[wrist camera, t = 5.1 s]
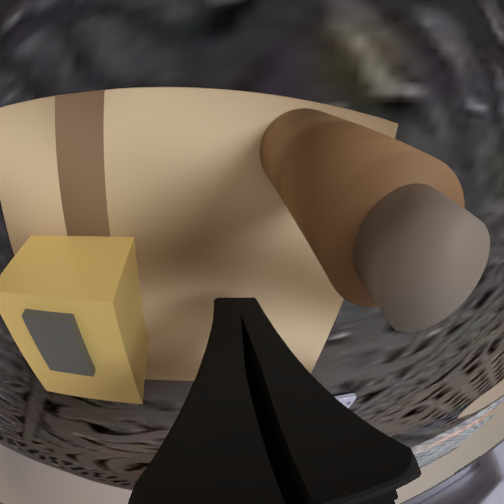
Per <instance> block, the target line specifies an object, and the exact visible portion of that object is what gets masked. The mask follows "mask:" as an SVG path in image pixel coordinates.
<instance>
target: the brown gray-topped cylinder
mask: <svg viewBox="0 0 504 504" xmlns="http://www.w3.org/2000/svg"><path fill="white" fill-rule="evenodd" d="M260 160H261V164H262V167H263V170H264V172H265V174H266V175H267V177H268V178H269V180H270V182H271V183H272V185H273V186H274V188H275V189H276V191H277V193H278V194H279V196H280V197H281V199H282V201H283V202H284V204H285V206H286V207H287V209H288V210H289V212H290V214H291V215H292V217H293V219H294V220H295V222H296V224H297V225H298V227H299V229H300V230H301V232H302V234H303V235H304V237H305V239H306V240H307V242H308V244H309V246H310V247H311V249H312V251H313V252H314V254H315V256H316V258H317V259H318V261H319V263H320V265H321V266H322V268H323V270H324V272H325V273H326V275H327V277H328V279H329V280H330V282H331V284H332V286H333V287H334V289H335V290H336V292H337V293H338V294H339V295H340V296H341V297H343V298H344V299H345V300H347V301H349V302H351V303H353V304H356V305H360V306H366V307H378V306H379V308H380V309H381V311H382V313H383V314H384V316H385V317H386V319H387V320H388V322H389V324H390V325H391V326H392V327H393V328H394V329H396V330H398V331H400V332H406V333H411V332H417V331H421V330H424V329H427V328H429V327H431V326H433V325H435V324H437V323H439V322H440V321H442V320H443V319H445V318H446V317H448V316H449V315H450V314H451V313H453V312H454V311H455V310H456V309H457V308H458V307H459V306H460V305H461V304H462V303H463V302H464V301H465V300H466V298H467V297H468V296H469V295H470V293H471V292H472V291H473V289H474V288H475V286H476V285H477V283H478V281H479V279H480V278H481V276H482V273H483V271H484V269H485V266H486V263H487V260H488V256H489V250H490V238H489V233H488V230H487V228H486V226H485V225H484V224H483V223H482V222H481V221H480V220H479V219H478V218H476V217H475V216H474V215H472V214H471V213H470V212H468V211H467V210H465V208H464V196H463V191H462V188H461V185H460V182H459V180H458V178H457V176H456V175H455V174H454V172H453V171H452V170H451V169H450V168H449V167H448V166H447V165H446V164H445V163H443V162H442V161H440V160H438V159H436V158H434V157H432V156H430V155H428V154H426V153H424V152H422V151H420V150H418V149H416V148H414V147H412V146H409V145H407V144H405V143H403V142H401V141H398V140H396V139H394V138H391V137H389V136H387V135H384V134H382V133H379V132H377V131H374V130H372V129H369V128H367V127H364V126H362V125H359V124H356V123H354V122H351V121H348V120H345V119H342V118H340V117H337V116H334V115H331V114H328V113H325V112H322V111H318V110H315V109H309V108H299V109H294V110H290V111H288V112H285V113H283V114H282V115H280V116H279V117H277V118H276V119H275V120H274V121H273V122H272V123H271V124H270V125H269V127H268V128H267V129H266V131H265V133H264V135H263V138H262V141H261V145H260Z"/></svg>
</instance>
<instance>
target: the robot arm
mask: <svg viewBox="0 0 504 504" xmlns="http://www.w3.org/2000/svg"><path fill="white" fill-rule="evenodd" d="M355 399H356V396H355V393H349V394H344V395H338V396H333V395H332V394H331V393H330V392H329V391H327V390H326V389H325V388H324V387H323V386H322V385H321V384H320V383H319V382H318V381H317V380H316V379H315V378H314V377H313V376H312V375H311V373H310V372H309V371H308V370H307V369H306V368H305V367H304V366H303V364H302V363H301V362H300V361H299V360H298V359H297V357H296V356H295V355H294V354H293V352H292V351H291V350H290V349H289V347H288V346H287V345H286V343H285V342H284V341H283V339H282V338H281V337H280V335H279V334H278V332H277V331H276V329H275V328H274V327H273V325H272V324H271V322H270V320H269V319H268V317H267V316H266V314H265V313H264V311H263V309H262V308H261V306H260V304H259V302H258V301H257V299H256V298H255V297H251V298H216V299H215V300H214V309H213V322H212V327H211V331H210V335H209V339H208V343H207V346H206V350H205V353H204V356H203V358H202V361H201V364H200V367H199V370H198V373H197V375H196V378H195V380H194V383H193V385H192V387H191V390H190V392H189V394H188V396H187V398H186V401H185V403H184V405H183V407H182V409H181V411H180V413H179V415H178V417H177V419H176V421H175V422H174V424H173V426H172V428H171V430H170V431H169V433H168V435H167V436H166V438H165V440H164V441H163V443H162V445H161V447H160V448H159V450H158V452H157V453H156V455H155V456H154V458H153V459H152V461H151V462H150V464H149V465H148V466H147V468H146V469H145V471H144V472H143V474H142V475H141V476H140V478H139V479H138V481H137V482H136V484H135V485H134V489H133V491H132V494H131V496H130V499H129V502H128V504H395V502H394V500H396V499H397V498H398V495H397V492H396V489H398V488H399V487H402V486H404V485H406V484H408V483H409V482H411V481H413V480H415V479H416V478H418V477H420V475H421V471H420V468H419V466H418V463H417V460H416V458H415V456H414V454H413V452H412V450H411V448H409V447H407V446H405V445H404V444H402V443H400V442H398V441H396V440H394V439H392V438H391V437H389V436H387V435H385V434H384V433H382V432H380V431H379V430H377V429H376V428H374V427H373V426H371V425H370V424H368V423H367V422H365V421H364V420H363V419H361V418H360V417H359V416H357V415H356V414H355V413H354V412H352V411H351V410H350V409H348V408H349V407H350V406H351V404H352V403H353V402H354V401H355ZM0 504H3V503H1V502H0ZM400 504H504V439H503V440H502V441H500V442H499V443H498V444H496V445H495V446H494V447H492V448H491V449H490V450H489V451H487V452H486V453H485V454H483V455H482V456H479V457H478V458H476V459H475V460H473V461H472V462H470V463H469V464H467V465H466V466H464V467H463V468H462V469H460V470H458V471H457V472H455V474H454V475H452V476H450V477H449V478H447V479H446V480H444V481H442V482H440V483H439V484H437V485H435V486H434V487H432V488H430V489H428V490H426V491H424V492H422V493H420V494H419V495H417V496H415V497H413V498H411V499H409V500H406V501H405V502H402V503H400Z"/></svg>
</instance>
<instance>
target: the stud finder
mask: <svg viewBox="0 0 504 504" xmlns="http://www.w3.org/2000/svg"><path fill="white" fill-rule="evenodd" d="M0 314H1V316H2V318H3V320H4V322H5V324H6V326H7V328H8V329H9V331H10V333H11V335H12V337H13V339H14V340H15V342H16V344H17V346H18V347H19V349H20V351H21V352H22V354H23V356H24V357H25V359H26V361H27V362H28V364H29V365H30V367H31V369H32V370H33V372H34V373H35V375H36V376H37V378H38V379H39V381H40V382H41V383H42V385H43V386H44V388H45V389H46V390H47V391H50V392H55V393H60V394H66V395H72V396H78V397H84V398H91V399H98V400H106V401H115V402H124V403H136V404H143V394H144V381H145V371H146V361H147V352H148V343H149V341H148V336H147V330H146V325H145V319H144V312H143V306H142V299H141V292H140V285H139V277H138V268H137V259H136V249H135V238H134V237H104V236H37V235H31V236H30V237H29V238H28V240H27V241H26V242H25V243H24V244H23V246H22V247H21V248H20V249H19V251H18V252H17V253H16V255H15V256H14V257H13V259H12V260H11V261H10V263H9V264H8V265H7V267H6V268H5V269H4V271H3V272H2V274H1V275H0Z"/></svg>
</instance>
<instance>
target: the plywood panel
mask: <svg viewBox="0 0 504 504" xmlns="http://www.w3.org/2000/svg"><path fill="white" fill-rule="evenodd" d="M299 108H309V109H315V110H318V111H322V112H325V113H328V114H331V115H334V116H337V117H340V118H342V119H345V120H348V121H351V122H354V123H356V124H359V125H362V126H364V127H367V128H369V129H372V130H374V131H377V132H379V133H382V134H384V135H387V136H389V137H391V138H394V139H395V136H396V132H397V127H398V124H397V123H394V122H391V121H388V120H385V119H382V118H379V117H376V116H372V115H369V114H365V113H361V112H357V111H354V110H350V109H345V108H341V107H337V106H332V105H328V104H323V103H318V102H313V101H308V100H303V99H297V98H291V97H285V96H279V95H272V94H264V93H256V92H248V91H238V90H226V89H213V88H193V87H138V88H118V89H105V90H94V91H85V92H77V93H69V94H62V95H56V96H50V97H44V98H39V99H34V100H29V101H24V102H20V103H16V104H11V105H8V106H4V107H1V108H0V200H1V205H2V210H3V214H4V219H5V223H6V227H7V231H8V234H9V238H10V242H11V245H12V249H13V252H14V255H16V253H17V252H18V251H19V249H20V248H21V247H22V246H23V244H24V243H25V242H26V241H27V240H28V238H29V237H30V236H31V235H37V236H104V237H134V238H135V249H136V259H137V268H138V277H139V285H140V292H141V299H142V306H143V312H144V319H145V325H146V330H147V336H148V341H149V343H148V352H147V361H146V371H145V379H150V380H175V381H194V380H195V378H196V375H197V373H198V370H199V367H200V364H201V361H202V358H203V356H204V353H205V350H206V346H207V343H208V339H209V335H210V331H211V327H212V322H213V309H214V300H215V299H216V298H251V297H255V298H256V299H257V301H258V302H259V304H260V306H261V308H262V309H263V311H264V313H265V314H266V316H267V317H268V319H269V320H270V322H271V324H272V325H273V327H274V328H275V329H276V331H277V332H278V334H279V335H280V337H281V338H282V339H283V341H284V342H285V343H286V345H287V346H288V347H289V349H290V350H291V351H292V352H293V354H294V355H295V356H296V357H297V359H298V360H299V361H300V362H301V363H302V364H303V366H304V367H305V368H306V369H307V370H308V371H309V372H310V373H311V372H312V370H313V368H314V366H315V364H316V361H317V359H318V357H319V355H320V353H321V351H322V349H323V346H324V344H325V342H326V340H327V337H328V335H329V333H330V331H331V328H332V326H333V324H334V321H335V319H336V317H337V314H338V312H339V309H340V307H341V305H342V302H343V300H344V298H343V297H341V296H340V295H339V294H338V293H337V292H336V290H335V289H334V287H333V286H332V284H331V282H330V280H329V279H328V277H327V275H326V273H325V272H324V270H323V268H322V266H321V265H320V263H319V261H318V259H317V258H316V256H315V254H314V252H313V251H312V249H311V247H310V246H309V244H308V242H307V240H306V239H305V237H304V235H303V234H302V232H301V230H300V229H299V227H298V225H297V224H296V222H295V220H294V219H293V217H292V215H291V214H290V212H289V210H288V209H287V207H286V206H285V204H284V202H283V201H282V199H281V197H280V196H279V194H278V193H277V191H276V189H275V188H274V186H273V185H272V183H271V182H270V180H269V178H268V177H267V175H266V174H265V172H264V170H263V167H262V164H261V160H260V145H261V141H262V138H263V135H264V133H265V131H266V129H267V128H268V127H269V125H270V124H271V123H272V122H273V121H274V120H275V119H276V118H277V117H279V116H280V115H282V114H283V113H285V112H288V111H290V110H294V109H299Z"/></svg>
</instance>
